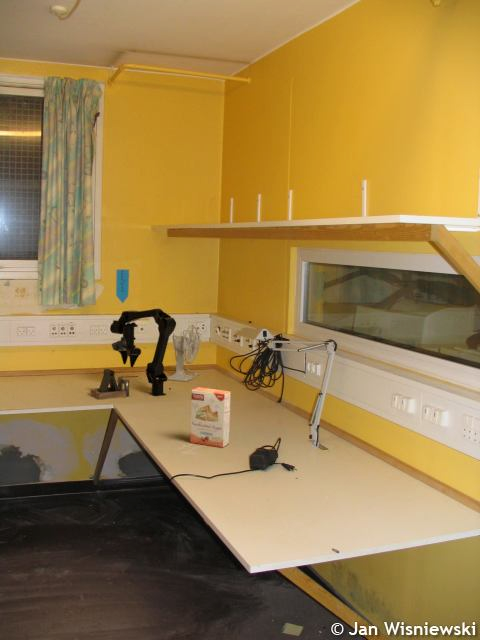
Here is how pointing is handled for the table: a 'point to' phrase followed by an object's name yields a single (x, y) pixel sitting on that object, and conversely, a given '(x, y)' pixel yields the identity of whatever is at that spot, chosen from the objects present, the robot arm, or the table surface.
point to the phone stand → (108, 381)
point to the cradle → (114, 394)
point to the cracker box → (210, 417)
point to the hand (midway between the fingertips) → (128, 365)
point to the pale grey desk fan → (181, 346)
